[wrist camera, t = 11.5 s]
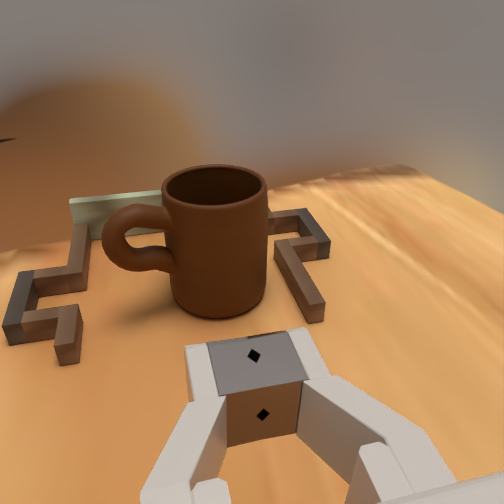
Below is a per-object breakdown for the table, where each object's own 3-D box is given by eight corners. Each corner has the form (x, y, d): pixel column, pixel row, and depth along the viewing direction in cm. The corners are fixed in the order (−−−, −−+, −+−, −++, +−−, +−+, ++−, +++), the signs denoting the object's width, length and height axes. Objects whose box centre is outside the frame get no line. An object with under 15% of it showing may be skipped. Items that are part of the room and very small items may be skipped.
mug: (135, 358, 30) (112, 238, 25) (104, 297, 36) (80, 188, 31) (284, 301, 35) (290, 192, 30) (237, 255, 41) (236, 156, 36)
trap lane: (0, 375, 29) (-20, 329, 27) (39, 240, 43) (27, 202, 41) (367, 313, 34) (376, 270, 32) (296, 211, 48) (298, 176, 46)
